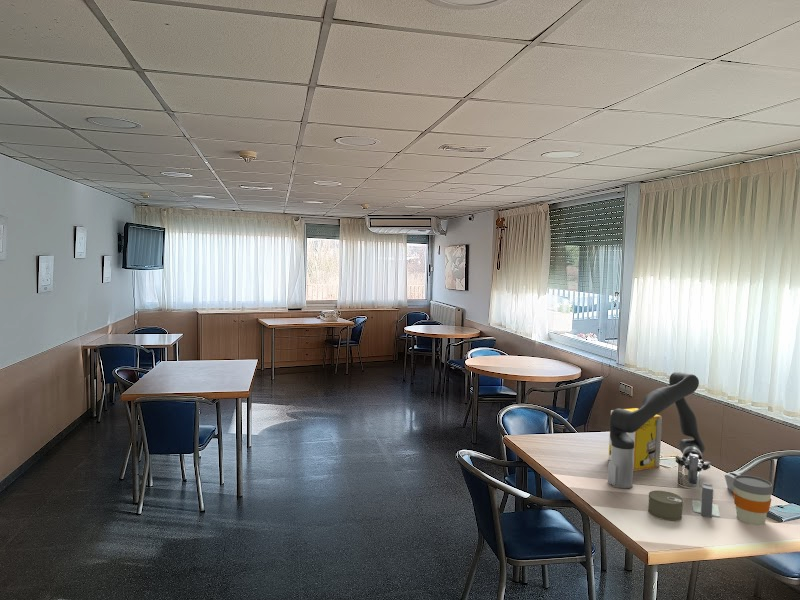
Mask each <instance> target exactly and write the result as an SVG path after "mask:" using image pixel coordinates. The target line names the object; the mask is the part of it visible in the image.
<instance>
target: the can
mask: <svg viewBox="0 0 800 600" xmlns="http://www.w3.org/2000/svg"><path fill="white" fill-rule="evenodd" d="M683 503H684V498H683V497H681V496H680V495H679V494H676V493H674V492H670V491H666V490H651V491H649V492H648V510H647V511H648V513H649V514H650V515H651V516H653V517H654V518H657V519H660V520H664V521H668V522H669V521H670V522H679V521H681V520H682V518H683V517H682V516H683Z"/></svg>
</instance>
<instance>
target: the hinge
mask: <svg viewBox="0 0 800 600" xmlns="http://www.w3.org/2000/svg"><path fill="white" fill-rule="evenodd" d="M737 475H741V474H740V473H738V472H732V471H731V472H729V473H726V474H724V479H725V483H726V487H727V489H729V491H731V492H734V485H733V482H734V477H735V476H737Z"/></svg>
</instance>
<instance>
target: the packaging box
mask: <svg viewBox="0 0 800 600" xmlns="http://www.w3.org/2000/svg"><path fill="white" fill-rule="evenodd" d="M623 409H624V410H628V411H631V412H633V411H636V410H638V409H639V408H637V407H631V408H623ZM613 410H614V409H611V410H610V415H611V414H612V412H613ZM662 418H663V416H662V415H660V414H656V415H655V416H654V417H652V418H651V419H650V420H648V421H647V422H646V423H645V424H644V425H643V426H641V427H640V428H639V429H638V430H637V431H635V432H633V433H627V432H626V433H627V435H628V436H629V437H630V438H631V439H632V440H633V441H634V460H633V472H636V471H641V470H642V471H643V470H648V469H649V470H650V469H654V468H660V462H661V461H660V460H661V443H662V442H661V440H662V424H663V422H662V421H663V420H662ZM608 445H609V447H608V460H609V461H611V439H610V438H609V443H608Z"/></svg>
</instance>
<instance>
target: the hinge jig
mask: <svg viewBox="0 0 800 600" xmlns="http://www.w3.org/2000/svg"><path fill="white" fill-rule="evenodd" d="M701 489H702V490H701V500H695V499H692V501H691V502H692V512H693V513H698V514H701V515H700V516H702V517H707V518H711V519H712V517H717V518H721V516H720V510H719V505H718V504H716V503H714V502H713V500H714V486H713V484H712V483H707V482H703V483H702V487H701Z"/></svg>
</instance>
